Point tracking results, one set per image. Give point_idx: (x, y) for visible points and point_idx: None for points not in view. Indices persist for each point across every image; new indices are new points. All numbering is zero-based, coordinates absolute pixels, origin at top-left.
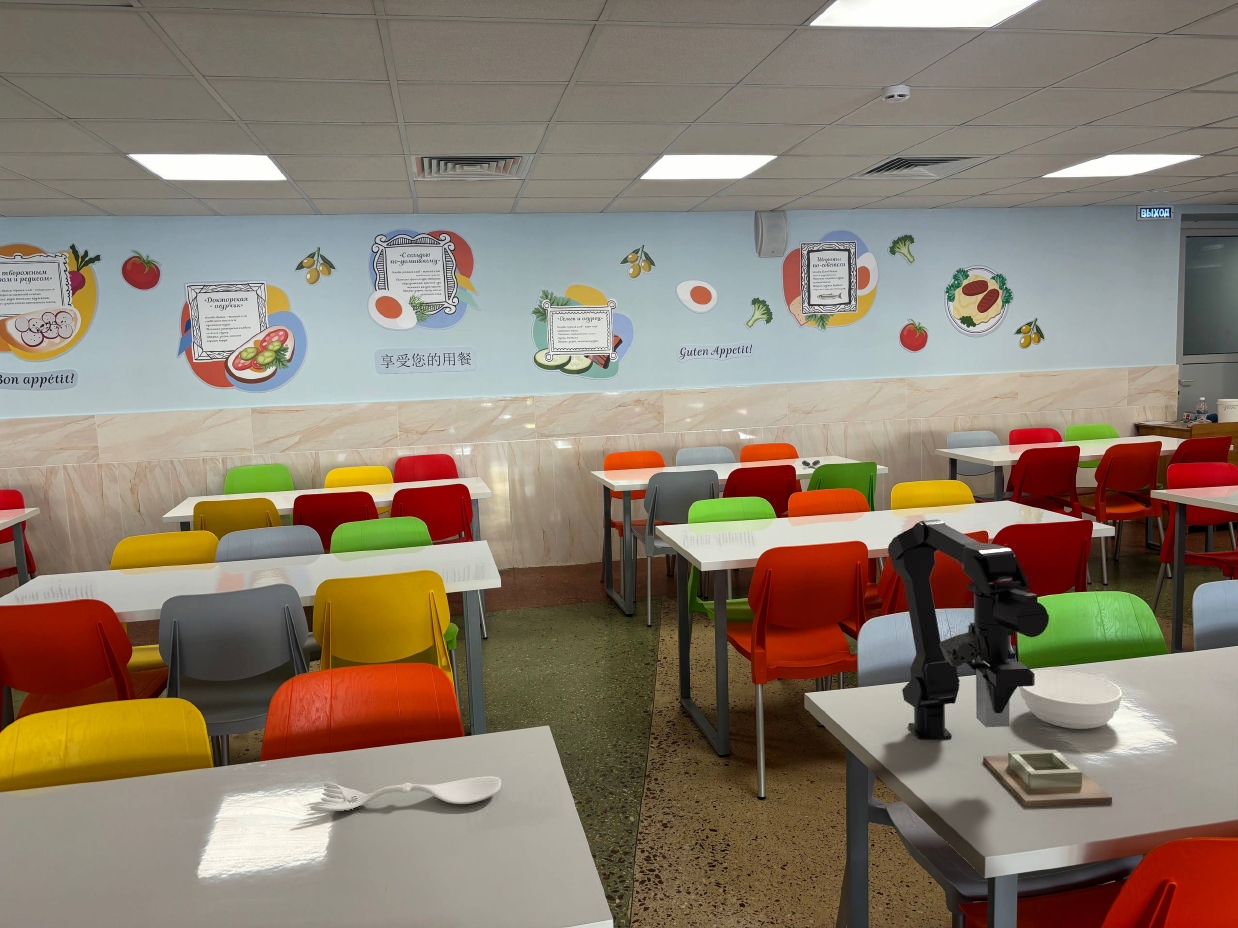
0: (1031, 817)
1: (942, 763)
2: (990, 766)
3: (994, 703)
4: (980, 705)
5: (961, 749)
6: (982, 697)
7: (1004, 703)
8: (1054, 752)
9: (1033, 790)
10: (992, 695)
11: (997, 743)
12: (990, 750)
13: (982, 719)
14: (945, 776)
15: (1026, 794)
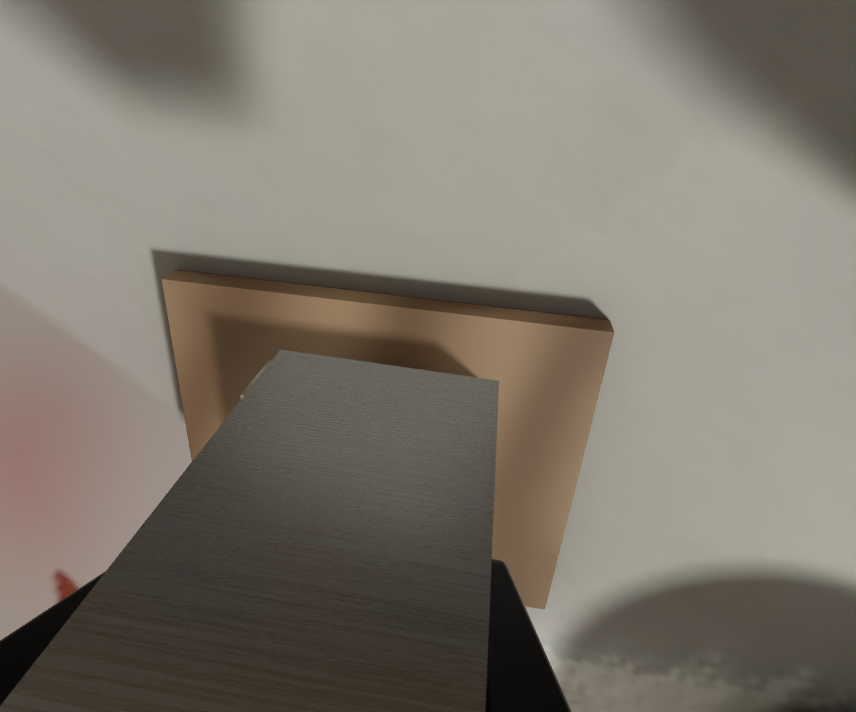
0: (90, 243)
1: (661, 84)
2: (524, 315)
3: (86, 586)
4: (358, 472)
5: (779, 285)
6: (243, 568)
7: None
8: None
9: (252, 357)
10: (15, 682)
11: (758, 473)
12: (705, 409)
13: (342, 381)
14: (499, 19)
15: (216, 312)
